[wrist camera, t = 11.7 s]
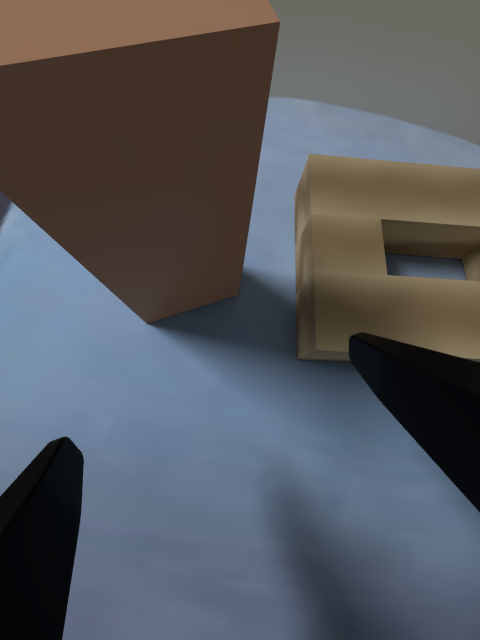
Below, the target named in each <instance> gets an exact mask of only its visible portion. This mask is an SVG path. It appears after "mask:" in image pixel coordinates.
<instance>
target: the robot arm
mask: <svg viewBox="0 0 480 640" xmlns="http://www.w3.org/2000/svg"><path fill="white" fill-rule="evenodd" d="M349 358H350V361H351V362H352V364H353V365H354V366H355V368H356V369H357V371H358V372H359V373H360V375H361V376H362V377H363V379H364V380H365V382H366V383H367V384H368V386H369V387H370V388H371V390H372V391H373V393H374V394H375V395H376V396H377V398H378V399H379V400H380V401H381V402H382V404H383V405H384V406H385V407H386V408H387V409H388V410H389V411H390V413H391V414H392V415H393V416H394V417H395V418H396V419H397V420H398V422H399V423H400V424H401V425H402V426H403V427H404V428H405V429H406V430H407V432H408V433H409V434H410V435H411V436H412V437H413V438H414V439H415V440H416V442H417V443H418V444H419V445H420V446H421V447H422V448H423V449H424V451H425V452H426V453H427V454H428V455H429V456H430V457H431V458H432V459H433V461H434V462H435V463H436V464H437V465H438V466H439V467H440V468H441V470H442V471H443V472H444V473H445V474H446V475H447V476H448V477H449V478H450V480H451V481H452V482H453V483H454V484H455V485H456V486H457V487H458V488H459V490H460V491H461V492H462V493H463V494H464V495H465V496H466V497H467V499H468V500H469V501H470V502H471V503H472V504H473V505H474V506H475V507H476V509H477V510H478V511H479V512H480V362H476V361H473V360H469V359H465V358H461V357H457V356H453V355H450V354H446V353H442V352H438V351H434V350H430V349H427V348H423V347H419V346H415V345H411V344H407V343H403V342H400V341H396V340H392V339H388V338H384V337H380V336H377V335H373V334H369V333H365V332H359V333H356V334H353V335H351V336H350V337H349ZM83 465H84V459H83V455H82V453H81V451H80V450H79V449H78V448H77V446H76V445H75V444H74V443H73V442H72V441H71V439H70V438H68V437H61V438H59V439H56V440H53V441H51V442H49V443H48V444H47V445H46V446H45V447H44V449H43V450H42V451H41V452H40V453H39V454H38V455H37V456H36V457H35V459H34V460H33V461H32V462H31V463H30V464H29V465H28V466H27V467H26V469H25V470H24V471H23V472H22V473H21V474H20V475H19V476H18V477H17V479H16V480H15V481H14V482H13V483H12V484H11V485H10V486H9V487H8V488H7V490H6V491H5V492H4V493H3V494H2V495H1V496H0V640H62V637H63V630H64V624H65V617H66V611H67V604H68V598H69V591H70V585H71V578H72V572H73V565H74V559H75V552H76V546H77V539H78V533H79V526H80V518H81V506H82V486H83Z"/></svg>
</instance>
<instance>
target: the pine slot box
mask: <svg viewBox="0 0 480 640" xmlns="http://www.w3.org/2000/svg"><path fill="white" fill-rule="evenodd" d="M295 253H296V319H297V359H303V360H322V361H341V362H351V361H350V358H349V337H350V336H351V335H353V334H356V333H359V332H365V333H369V334H373V335H377V336H380V337H384V338H388V339H392V340H396V341H400V342H403V343H407V344H411V345H415V346H419V347H423V348H427V349H430V350H434V351H438V352H442V353H446V354H450V355H453V356H457V357H461V358H465V359H469V360H473V361H476V362H480V169H474V168H463V167H451V166H440V165H429V164H417V163H406V162H395V161H383V160H372V159H361V158H349V157H338V156H326V155H315V154H309V157H308V160H307V163H306V165H305V168H304V171H303V174H302V177H301V179H300V182H299V185H298V188H297V191H296V193H295ZM385 253H387V254H401V255H415V256H429V257H443V258H457V259H462V262H463V266H464V271H465V276H466V280H452V279H437V278H423V277H408V276H393V275H387V267H386V259H385Z"/></svg>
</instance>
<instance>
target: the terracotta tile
mask: <svg viewBox="0 0 480 640" xmlns="http://www.w3.org/2000/svg"><path fill="white" fill-rule="evenodd" d="M279 26H280V20H279V19H278V17H277V15H276V13H275V12H274V10H273V8H272V7H271V5H270V3H269V1H268V0H0V191H1V192H2V193H3V194H4V195H5V196H6V197H8V198H9V199H10V200H11V201H12V202H13V203H14V204H15V205H16V206H17V207H19V208H20V209H21V210H22V211H23V212H24V213H25V214H26V215H27V216H29V217H30V218H31V219H32V220H33V221H34V222H35V223H36V224H37V225H38V226H40V227H41V228H42V229H43V230H44V231H45V232H46V233H47V234H48V235H49V236H51V237H52V238H53V239H54V240H55V241H56V242H57V243H58V244H59V245H61V246H62V247H63V248H64V249H65V250H66V251H67V252H68V253H69V254H70V255H72V256H73V257H74V258H75V259H76V260H77V261H78V262H79V263H80V264H81V265H83V266H84V267H85V268H86V269H87V270H88V271H89V272H90V273H91V274H93V275H94V276H95V277H96V278H97V279H98V280H99V281H100V282H101V283H102V284H104V285H105V286H106V287H107V288H108V289H109V290H110V291H111V292H112V293H113V294H115V295H116V296H117V297H118V298H119V299H120V300H121V301H122V302H123V303H125V304H126V305H127V306H128V307H129V308H130V309H131V310H132V311H133V312H134V313H136V314H137V315H138V316H139V317H140V318H141V319H142V320H143V321H144V322H145V323H147V324H148V323H151V322H154V321H157V320H160V319H163V318H167V317H170V316H173V315H176V314H179V313H183V312H186V311H189V310H192V309H195V308H199V307H202V306H205V305H208V304H211V303H215V302H218V301H221V300H224V299H227V298H231V297H234V296H237V295H239V290H240V284H241V277H242V270H243V264H244V257H245V251H246V244H247V237H248V231H249V224H250V218H251V211H252V204H253V198H254V191H255V185H256V178H257V171H258V165H259V158H260V152H261V145H262V138H263V132H264V125H265V118H266V112H267V105H268V99H269V92H270V85H271V79H272V72H273V66H274V59H275V52H276V46H277V39H278V31H279Z"/></svg>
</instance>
